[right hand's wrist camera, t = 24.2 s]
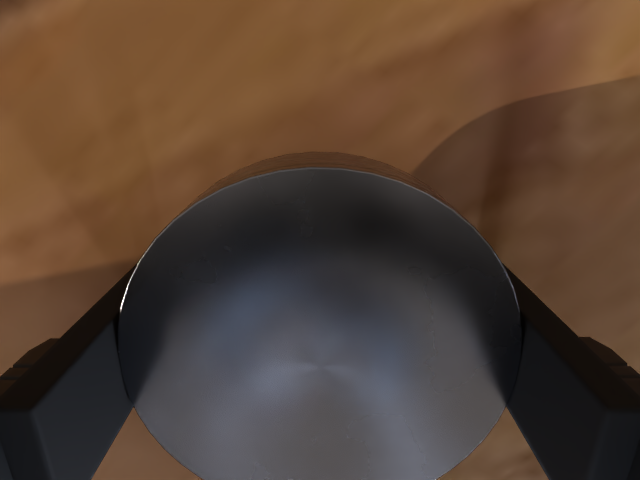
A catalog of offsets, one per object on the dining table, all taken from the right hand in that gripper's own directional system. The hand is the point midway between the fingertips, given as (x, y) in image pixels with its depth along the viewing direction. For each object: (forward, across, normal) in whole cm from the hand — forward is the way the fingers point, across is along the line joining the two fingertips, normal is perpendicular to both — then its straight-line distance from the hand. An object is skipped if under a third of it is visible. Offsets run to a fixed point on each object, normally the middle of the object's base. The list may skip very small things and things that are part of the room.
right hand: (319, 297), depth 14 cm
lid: (-3, 0, 0) cm, 3 cm away
